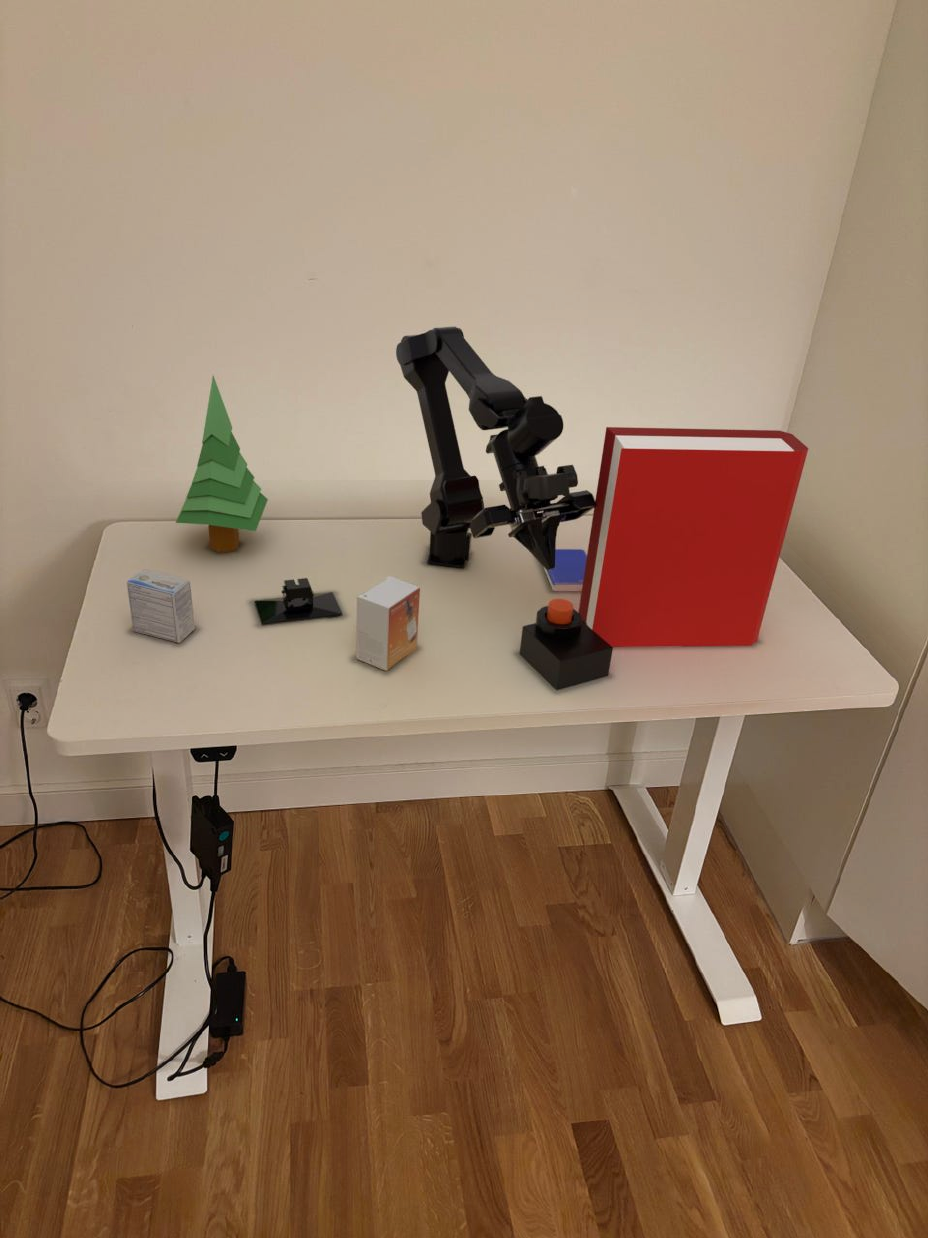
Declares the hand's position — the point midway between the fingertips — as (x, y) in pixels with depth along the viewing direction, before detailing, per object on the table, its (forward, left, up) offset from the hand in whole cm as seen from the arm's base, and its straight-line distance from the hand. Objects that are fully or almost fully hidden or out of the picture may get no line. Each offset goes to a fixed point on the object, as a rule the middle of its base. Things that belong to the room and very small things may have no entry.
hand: (551, 569), depth 139 cm
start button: (+2, -3, -6) cm, 7 cm away
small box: (-22, -8, -13) cm, 27 cm away
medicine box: (-55, -10, -13) cm, 58 cm away
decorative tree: (-56, +18, -13) cm, 60 cm away
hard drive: (+3, +24, -13) cm, 27 cm away
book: (+19, +9, -13) cm, 25 cm away
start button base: (+4, -5, -13) cm, 14 cm away
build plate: (-38, +1, -13) cm, 40 cm away
